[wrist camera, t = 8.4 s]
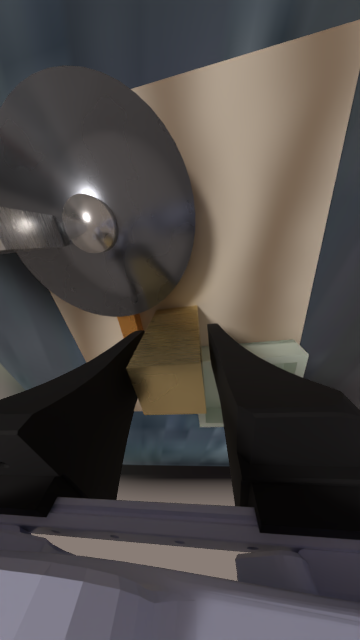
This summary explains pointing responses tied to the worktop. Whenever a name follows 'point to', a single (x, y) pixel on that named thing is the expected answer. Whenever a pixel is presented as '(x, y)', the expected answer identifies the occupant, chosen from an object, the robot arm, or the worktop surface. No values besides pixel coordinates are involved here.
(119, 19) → the worktop surface
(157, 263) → the crank
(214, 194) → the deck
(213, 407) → the tray
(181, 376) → the block
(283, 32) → the worktop surface
